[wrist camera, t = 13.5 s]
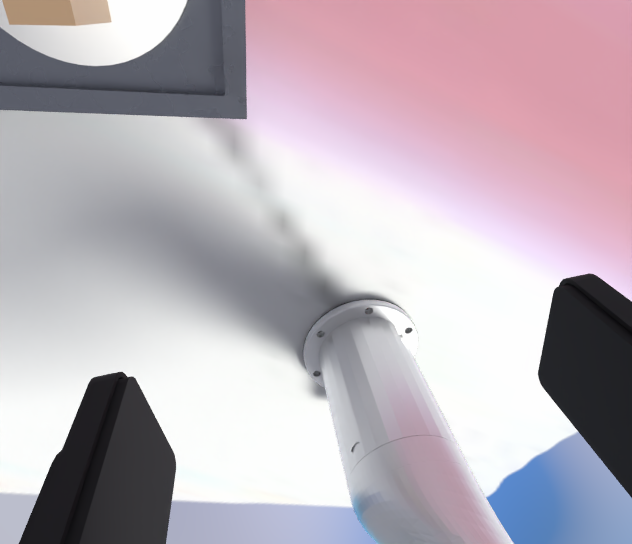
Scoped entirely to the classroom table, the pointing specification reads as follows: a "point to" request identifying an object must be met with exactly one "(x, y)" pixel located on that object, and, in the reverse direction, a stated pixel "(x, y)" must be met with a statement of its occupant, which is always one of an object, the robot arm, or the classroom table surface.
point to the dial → (91, 27)
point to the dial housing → (141, 72)
